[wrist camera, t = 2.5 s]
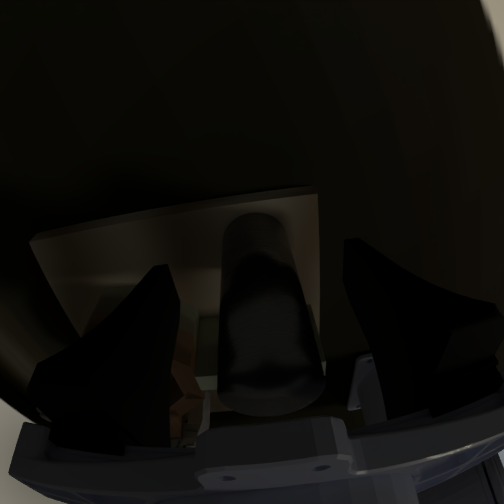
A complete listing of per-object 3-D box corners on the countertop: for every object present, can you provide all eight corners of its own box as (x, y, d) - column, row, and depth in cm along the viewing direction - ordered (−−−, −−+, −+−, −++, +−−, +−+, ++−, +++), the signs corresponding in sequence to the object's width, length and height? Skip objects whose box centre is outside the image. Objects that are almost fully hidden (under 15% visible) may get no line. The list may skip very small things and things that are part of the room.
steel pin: (284, 208, 14) (328, 350, 7) (289, 263, 16) (323, 408, 9) (217, 217, 14) (205, 366, 8) (228, 271, 16) (228, 420, 9)
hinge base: (312, 185, 15) (344, 240, 10) (314, 390, 24) (325, 443, 20) (37, 233, 15) (-9, 288, 11) (137, 403, 24) (128, 453, 20)
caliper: (203, 378, 22) (201, 458, 16) (211, 386, 22) (209, 463, 17) (36, 405, 25) (21, 454, 20) (44, 410, 25) (29, 459, 20)
